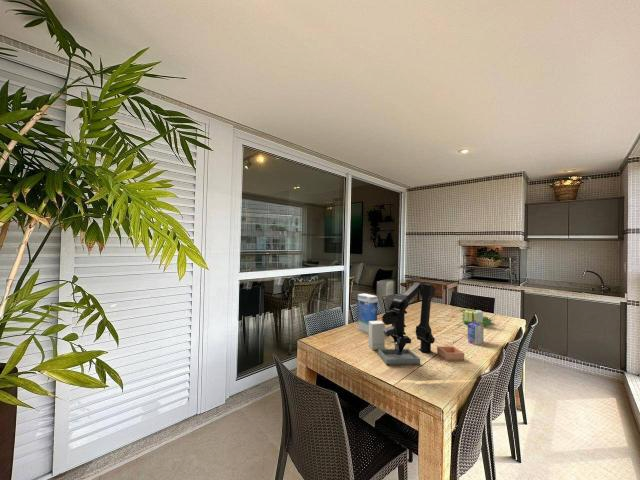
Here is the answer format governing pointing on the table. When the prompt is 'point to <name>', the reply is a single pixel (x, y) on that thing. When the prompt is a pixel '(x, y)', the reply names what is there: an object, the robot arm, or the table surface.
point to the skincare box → (376, 335)
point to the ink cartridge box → (475, 333)
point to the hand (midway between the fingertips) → (398, 350)
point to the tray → (398, 357)
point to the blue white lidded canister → (366, 311)
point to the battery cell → (397, 349)
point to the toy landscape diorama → (475, 317)
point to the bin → (450, 353)
